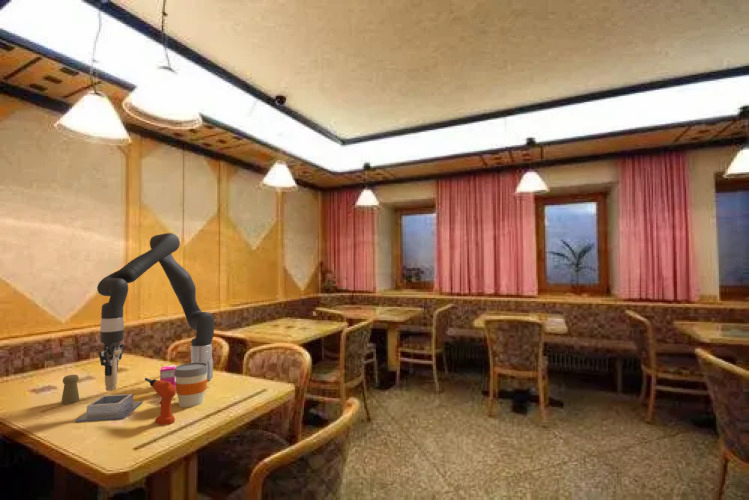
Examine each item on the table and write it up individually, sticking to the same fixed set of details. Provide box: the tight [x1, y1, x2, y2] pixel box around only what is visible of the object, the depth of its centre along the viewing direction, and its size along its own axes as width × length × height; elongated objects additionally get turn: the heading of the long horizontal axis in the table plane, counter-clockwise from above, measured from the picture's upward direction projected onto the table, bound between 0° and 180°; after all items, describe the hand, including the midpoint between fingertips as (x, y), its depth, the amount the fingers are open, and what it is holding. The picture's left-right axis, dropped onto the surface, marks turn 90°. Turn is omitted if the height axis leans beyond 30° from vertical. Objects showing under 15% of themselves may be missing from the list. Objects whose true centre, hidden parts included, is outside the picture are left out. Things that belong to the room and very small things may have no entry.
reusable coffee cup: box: [174, 362, 208, 408], centre depth 154 cm, size 13×13×15 cm
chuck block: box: [74, 393, 144, 423], centre depth 145 cm, size 16×16×5 cm
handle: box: [104, 349, 123, 392], centre depth 146 cm, size 5×6×15 cm
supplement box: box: [159, 364, 177, 388], centre depth 167 cm, size 6×6×12 cm
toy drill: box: [144, 377, 177, 426], centre depth 138 cm, size 5×19×15 cm, turn 59°
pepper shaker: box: [60, 374, 80, 406], centre depth 157 cm, size 6×6×11 cm
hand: (111, 373), depth 146 cm, fingers closed on handle, 4 cm apart
